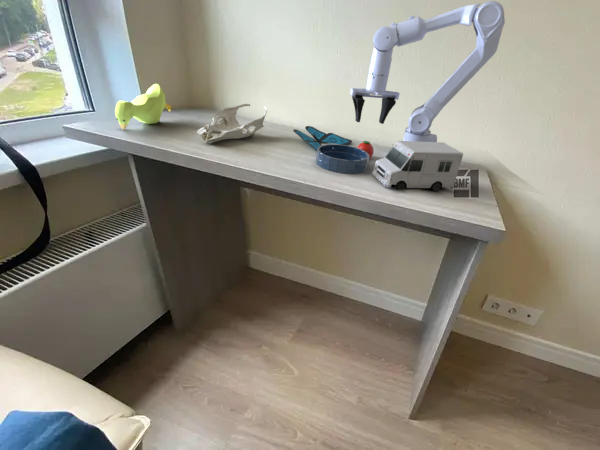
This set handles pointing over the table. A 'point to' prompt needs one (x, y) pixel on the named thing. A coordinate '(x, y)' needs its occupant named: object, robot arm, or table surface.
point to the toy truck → (419, 165)
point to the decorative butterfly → (321, 137)
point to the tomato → (366, 147)
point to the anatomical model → (229, 126)
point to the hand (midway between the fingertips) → (369, 122)
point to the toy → (142, 107)
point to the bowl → (342, 158)
